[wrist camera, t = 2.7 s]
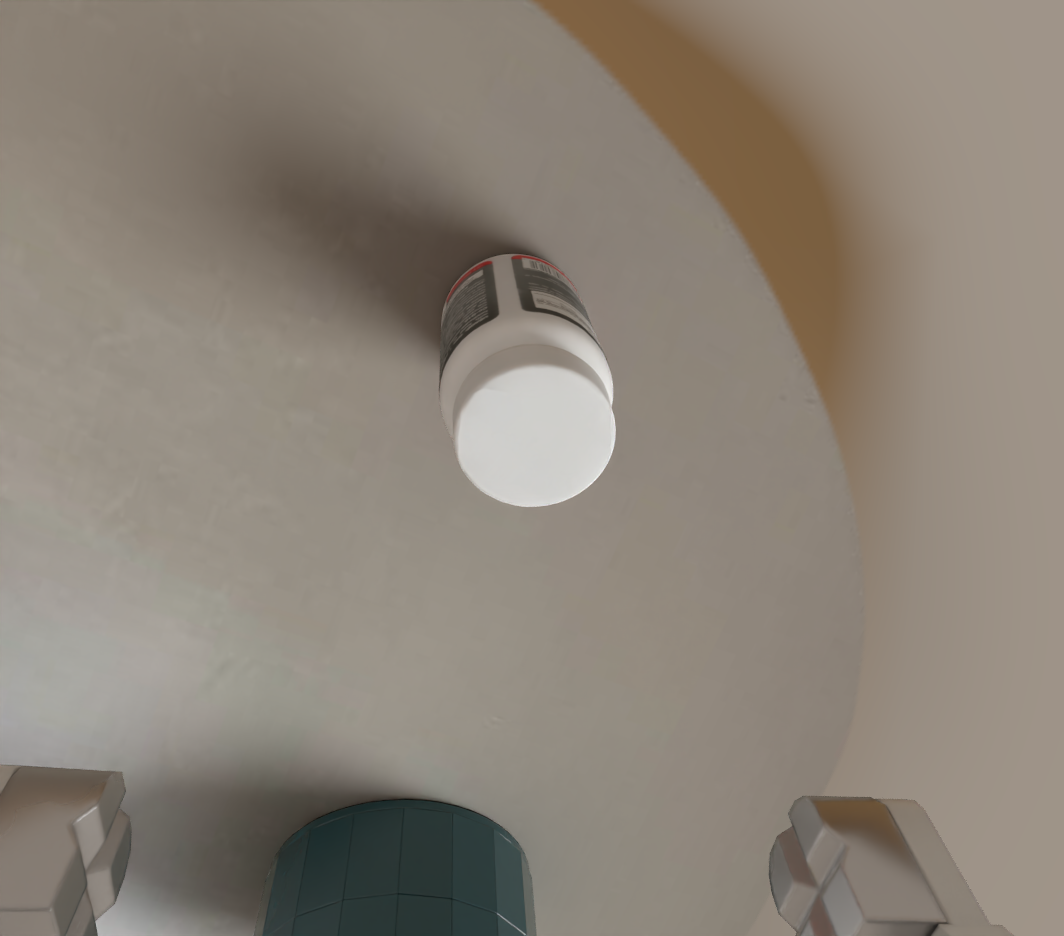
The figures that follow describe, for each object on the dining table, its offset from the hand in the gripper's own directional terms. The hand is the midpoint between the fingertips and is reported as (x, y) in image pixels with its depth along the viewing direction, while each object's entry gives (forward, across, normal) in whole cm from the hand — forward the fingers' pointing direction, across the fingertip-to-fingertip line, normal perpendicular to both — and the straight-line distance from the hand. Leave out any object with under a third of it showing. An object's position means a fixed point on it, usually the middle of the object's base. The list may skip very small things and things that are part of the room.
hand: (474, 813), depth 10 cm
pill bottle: (+19, -2, +1) cm, 19 cm away
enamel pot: (+19, 0, +32) cm, 37 cm away
